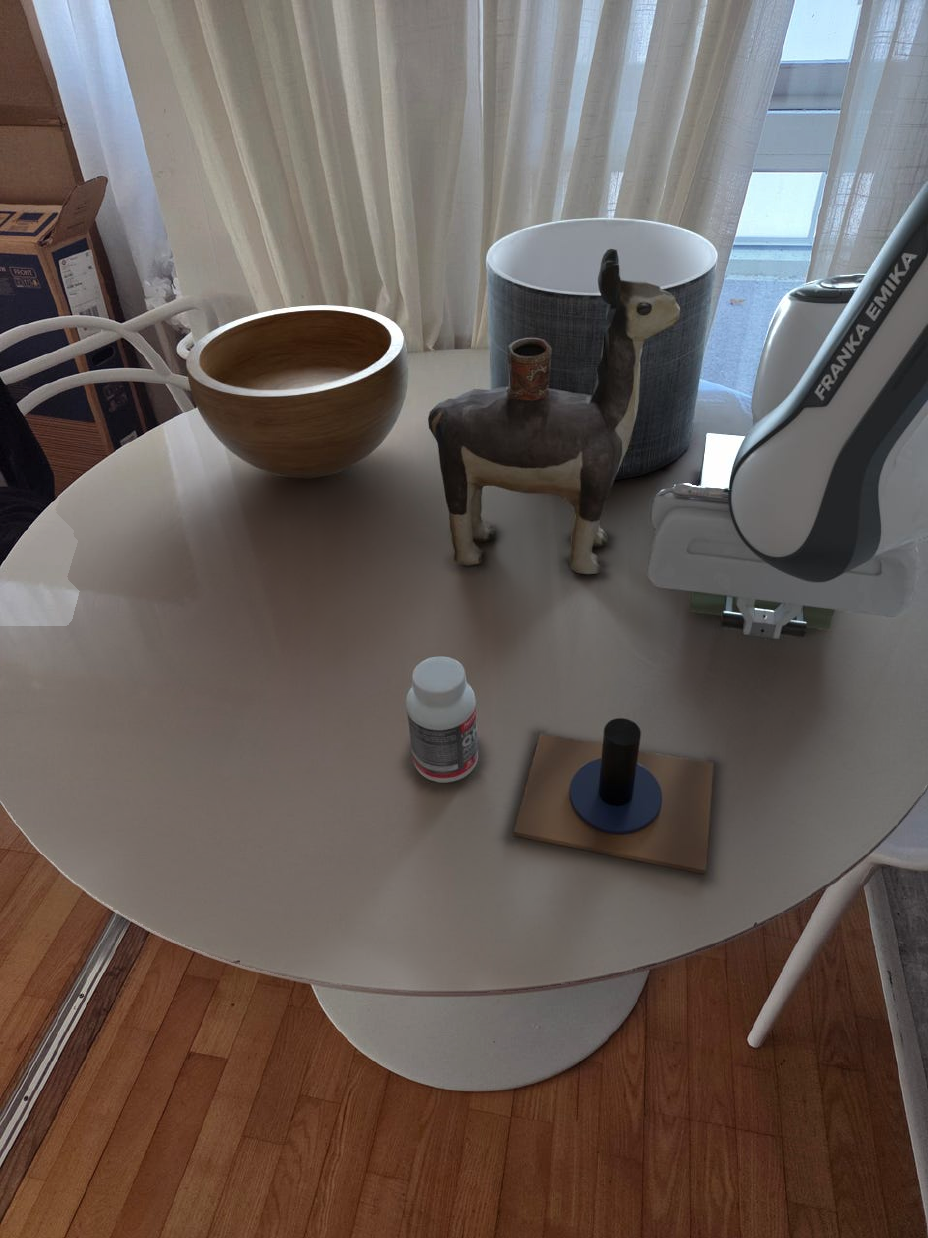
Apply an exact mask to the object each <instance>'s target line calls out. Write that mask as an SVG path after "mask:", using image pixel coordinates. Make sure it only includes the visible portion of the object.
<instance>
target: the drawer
mask: <svg viewBox="0 0 928 1238" xmlns="http://www.w3.org/2000/svg"><path fill="white" fill-rule="evenodd" d="M781 604H782V603H780V602H772V601H764V600H756V599H755V603H754V607H755V608H756V609H762V610H770V611H775V610H776V609H777V608H778V607H779V606H780V605H781ZM689 612H693V613H699V614H707V615H715V616H721V620H720V627H722V628H730V629H736V630H737V629H738V630H743V625H744V617H743V616H742V614H741V612H740V610H739V608H738V606H737V597H733V596H725V595H718V594H710V593H702V592H695V591H691V599H690V605H689ZM834 613H835V610H834V609H826V608H818V607H810V606H802V610H801V613H800V614H799V615H797V616H796V617H795V618H793V619H792V620H791V621H789V622H788V623H787V624H785V625H784V626H783V625H782V629H781V633H780V636H787V637H795V638H802V639H804V638H805V637H806V635H807V631H808V630H807V629H808V628H811V629H819V630H826V631H829V629H830V626H831V623H832V620H833V617H834Z"/></svg>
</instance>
